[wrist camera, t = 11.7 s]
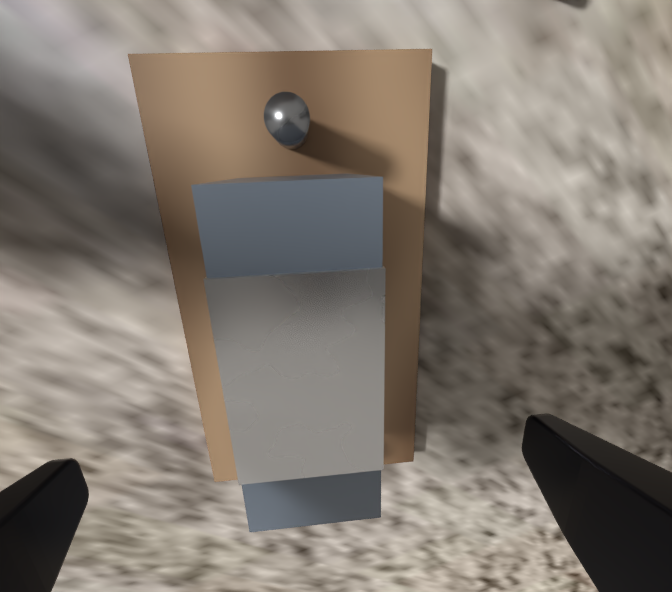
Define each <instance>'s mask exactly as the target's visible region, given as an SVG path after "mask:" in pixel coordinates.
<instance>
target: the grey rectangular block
mask: <svg viewBox="0 0 672 592" xmlns="http://www.w3.org/2000/svg"><path fill="white" fill-rule="evenodd" d="M191 187H192V193H193V199H194V205H195V211H196V217H197V223H198V229H199V235H200V241H201V246H202V252H203V258H204V264H205V270H206V276H207V277H205V278H204V279H203V280H204V286H205V292H206V297H207V303H208V309H209V315H210V321H211V326H212V332H213V338H214V344H215V350H216V355H217V361H218V367H219V373H220V379H221V384H222V390H223V396H224V402H225V408H226V413H227V419H228V425H229V431H230V437H231V442H232V448H233V454H234V460H235V466H236V471H237V477H238V483H239V485H242V489H243V495H244V501H245V507H246V513H247V519H248V525H249V531H250V532H257V531H266V530H275V529H283V528H292V527H301V526H310V525H318V524H327V523H336V522H344V521H353V520H362V519H371V518H379V517H381V470H383V469H384V370H385V271H386V268H385V267H384V266H382V260H383V177H380V176H370V175H359V174H324V175H299V176H275V177H251V178H236V179H229V180H222V181H215V182H208V183H201V184H194V185H191Z"/></svg>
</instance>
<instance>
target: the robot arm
mask: <svg viewBox="0 0 672 592" xmlns="http://www.w3.org/2000/svg"><path fill="white" fill-rule="evenodd" d="M522 453H523V456H524V459H525V461H526V463H527V465H528V467H529V469H530V471H531V473H532V475H533V477H534V479H535V481H536V482H537V484H538V486H539V488H540V490H541V492H542V494H543V496H544V498H545V500H546V502H547V504H548V506H549V508H550V510H551V512H552V514H553V516H554V518H555V520H556V522H557V523H558V525H559V527H560V529H561V531H562V533H563V534H564V536H565V538H566V539H567V541H568V543H569V544H570V546H571V548H572V549H573V551H574V553H575V554H576V556H577V557H578V559H579V561H580V562H581V564H582V565H583V567H584V569H585V570H586V572H587V573H588V575H589V577H590V578H591V580H592V581H593V583H594V585H595V586H596V588H597V589H598V591H599V592H672V472H670V471H667V470H665V469H663V468H661V467H659V466H657V465H655V464H653V463H651V462H649V461H647V460H645V459H643V458H640V457H638V456H636V455H634V454H632V453H630V452H628V451H626V450H624V449H622V448H620V447H618V446H616V445H613V444H611V443H609V442H607V441H605V440H603V439H601V438H599V437H597V436H595V435H593V434H591V433H589V432H586V431H584V430H582V429H580V428H578V427H576V426H574V425H572V424H570V423H568V422H566V421H564V420H562V419H559V418H557V417H555V416H553V415H551V414H536V415H531V416H529V417H528V418H527V420H526V425H525V430H524V436H523V442H522ZM88 497H89V491H88V487H87V484H86V482H85V479H84V476H83V473H82V471H81V468H80V465H79V463H78V461H76V460H75V459H72V458H69V459H58V460H52V461H49V462H47V463H45V464H44V465H42V466H40V467H39V468H37V469H36V470H34V471H32V472H31V473H29V474H28V475H26V476H25V477H23V478H21V479H20V480H18V481H17V482H15V483H13V484H12V485H10V486H9V487H7V488H6V489H4V490H2V491H1V492H0V592H51V591H52V588H53V586H54V584H55V582H56V579H57V577H58V574H59V572H60V569H61V567H62V564H63V562H64V560H65V557H66V555H67V552H68V550H69V547H70V545H71V542H72V540H73V537H74V535H75V532H76V530H77V528H78V525H79V523H80V520H81V518H82V515H83V513H84V510H85V508H86V505H87V502H88Z"/></svg>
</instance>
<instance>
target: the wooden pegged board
mask: <svg viewBox="0 0 672 592" xmlns="http://www.w3.org/2000/svg"><path fill="white" fill-rule="evenodd" d="M128 58H129V63H130V68H131V73H132V77H133V82H134V87H135V92H136V97H137V102H138V107H139V112H140V117H141V122H142V127H143V132H144V136H145V141H146V146H147V151H148V156H149V161H150V166H151V171H152V176H153V181H154V186H155V190H156V195H157V200H158V205H159V210H160V215H161V220H162V225H163V230H164V235H165V240H166V245H167V249H168V254H169V259H170V264H171V269H172V274H173V279H174V284H175V289H176V294H177V299H178V304H179V308H180V313H181V318H182V323H183V328H184V333H185V338H186V343H187V348H188V353H189V358H190V363H191V367H192V372H193V377H194V382H195V387H196V392H197V397H198V402H199V407H200V412H201V417H202V422H203V426H204V431H205V436H206V441H207V446H208V451H209V456H210V461H211V466H212V471H213V476H214V481H215V482H219V481H229V480H238V477H237V471H236V466H235V460H234V454H233V448H232V442H231V437H230V431H229V425H228V419H227V413H226V408H225V402H224V396H223V390H222V384H221V379H220V373H219V367H218V361H217V355H216V350H215V344H214V338H213V332H212V326H211V321H210V315H209V309H208V303H207V297H206V292H205V286H204V280H203V279H204V278H205V277H207V276H206V270H205V264H204V258H203V252H202V246H201V241H200V235H199V229H198V223H197V217H196V211H195V205H194V199H193V193H192V187H191V185H194V184H201V183H208V182H215V181H222V180H229V179H236V178H251V177H275V176H299V175H324V174H359V175H370V176H380V177H383V260H382V266H384V267H385V268H386V271H385V370H384V464H392V463H402V462H411V461H413V460H414V438H415V416H416V394H417V372H418V350H419V328H420V306H421V284H422V262H423V240H424V218H425V196H426V174H427V152H428V130H429V108H430V86H431V64H432V49H397V50H337V51H278V52H218V53H159V54H128Z"/></svg>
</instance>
